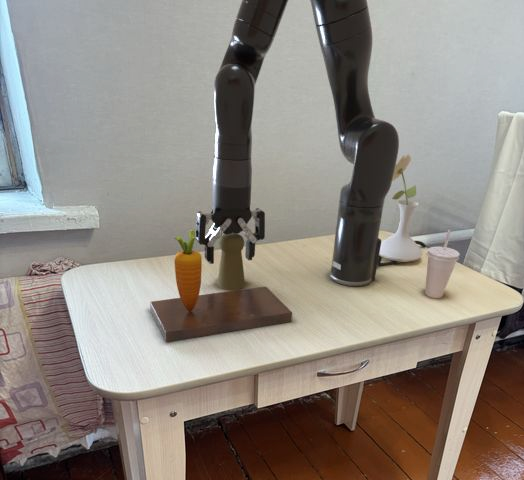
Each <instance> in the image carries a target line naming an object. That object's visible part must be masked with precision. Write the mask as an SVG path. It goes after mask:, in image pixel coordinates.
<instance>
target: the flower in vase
mask: <svg viewBox="0 0 524 480" xmlns="http://www.w3.org/2000/svg"><path fill="white" fill-rule="evenodd" d="M411 159H412V156H411V155H410V153H407V154H406V155H405V154H403V155H402V156H401V157H400V158H399V160H398V162H397V163H396V165H395V170H394V174H393V179H392V182H393V181H394V182H395V180H396V179H398V178H399V177H400V176H401V177H402V182H403V187H404V188H403V189H404V190H399V191H397V192H396V193H394V195H393V196H392V200H398V201H397V202H396V203H397V205H398V207H399V215H400V216H399V223H398V228H397V230H396V232H395V233H393V234H392V235H391V236H388V237H387V238H385V239H384V240H381V247H380V253H379V255H380V256H381V258H384V259H386V260H389V261H399V262H398V263H405V262H406V263H407V262H414V261H417V260H419V259H420V258H421V257H422V256H423V251H422V248H421V247H420V246H419V244H416V243H415V241H416V240H414V239H413V238H412V237H411V236H410V234H409V224H410V221H411V217H412V215H413V213H414V211H415V210H416V208H417V207H418V206H419V205H420V204H419V202H417V201H413V200H409V199H410V198H413V197H416V195H417V186H416V185H413V186H411V187H409V188H407V185H406V180H405V175H404V171H406V169H407V167H408V166H409V164H410V162H411V161H412V160H411ZM403 196H405V199H400V198H401V197H403ZM399 199H400V200H399Z"/></svg>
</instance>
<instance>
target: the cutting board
mask: <svg viewBox="0 0 524 480" xmlns="http://www.w3.org/2000/svg"><path fill="white" fill-rule="evenodd" d="M149 306H150V307H149V309H150V313H151V315H152V317H153V318H154V321H155V323H156V324H157V326H158V328H159V331H160V333H161V335H162V336H163V338H164V341H165V343H170V342H175V341H176V342H177V341H182V340H188V339H193V338H200V337H205V336H206V337H207V336H212V335H217V334H225V333H231V332H236V331H237V332H238V331H244V330H248V329H254V328H261V327H267V326H273V325H280V324H285V323H292V320H293V311H291V309H290V308H288V307H287V306H286V305H285V304H284V302H282V301H281V300H280V299H279V298H278V296H276V295H275V294H274V293H273V291H271V290H270V289H269V288H268V287H267V286H266V285H264V286H259V287H250V288H241V289H238V290H226V291H220V292H213V293H206V294H199V297H198V300H197V303H196V305H195V307H194V309H193V310H192V311H191V312H189V311H188V310H187V309H186V308H185V306H184V305H183V303H182V300H181V298H180V297H175V298H169V299H168V298H167V299H161V300H153V301H149Z"/></svg>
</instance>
